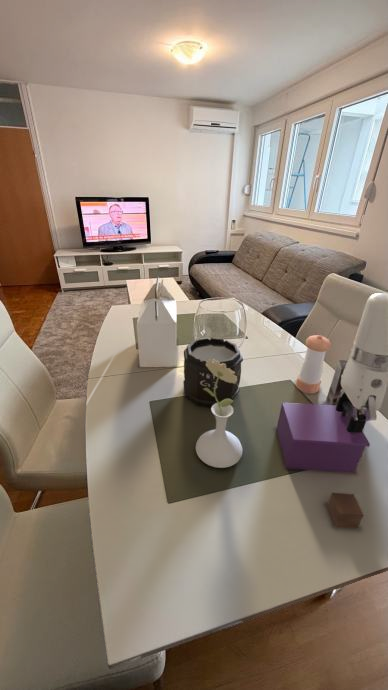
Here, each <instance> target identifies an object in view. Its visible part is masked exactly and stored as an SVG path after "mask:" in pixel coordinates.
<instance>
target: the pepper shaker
mask: <svg viewBox="0 0 388 690" xmlns="http://www.w3.org/2000/svg"><path fill="white" fill-rule="evenodd" d="M305 345H306V352H305V355H304V358H303V361H302V363H301V366H300V369H299V374H298V375H297V378H296V382H295V386H296V388H297V389H298V390H299V391H301V392H304V393H306V394H316V393H319V390H320V387H321V385H322V380H321V379H322V375H323V373H324V372H323V370H324V361H325V358H326V353H327V351H328V350H329V349H330V348H331V342H330V340H329V338H327V337H325V336H323V335H321V334H317V335H310V336H308V337H307V338H306V340H305Z"/></svg>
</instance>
